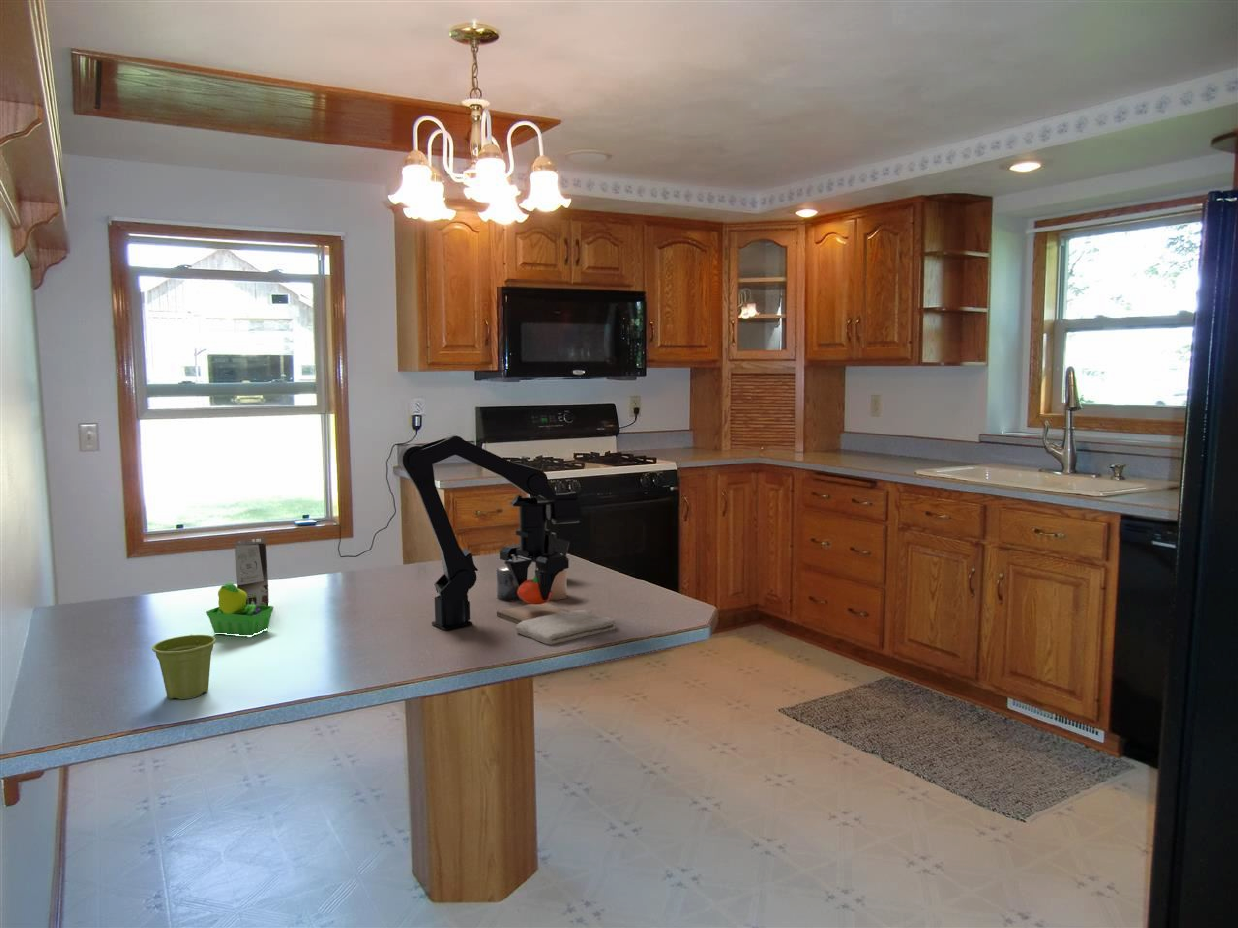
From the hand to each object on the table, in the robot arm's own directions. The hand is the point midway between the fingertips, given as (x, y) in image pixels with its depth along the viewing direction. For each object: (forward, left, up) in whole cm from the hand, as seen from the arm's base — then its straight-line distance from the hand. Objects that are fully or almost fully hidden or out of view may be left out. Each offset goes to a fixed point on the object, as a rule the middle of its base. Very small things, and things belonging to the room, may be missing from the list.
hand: (534, 596), depth 187 cm
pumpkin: (0, 0, -2) cm, 2 cm away
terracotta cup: (+13, +12, -4) cm, 18 cm away
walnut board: (0, 0, -5) cm, 5 cm away
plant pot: (-70, -1, -5) cm, 70 cm away
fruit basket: (-53, +30, -5) cm, 61 cm away
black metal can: (+5, +18, -4) cm, 19 cm away
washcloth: (-1, -14, -5) cm, 15 cm away
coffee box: (-45, +47, -5) cm, 65 cm away
